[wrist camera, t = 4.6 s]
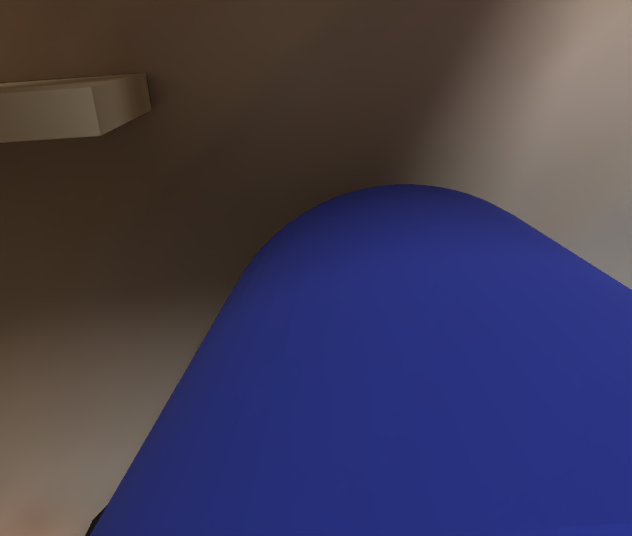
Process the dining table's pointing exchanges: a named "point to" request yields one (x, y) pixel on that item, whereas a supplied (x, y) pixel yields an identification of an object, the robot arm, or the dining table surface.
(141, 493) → the mug
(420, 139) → the dining table surface
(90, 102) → the channel
